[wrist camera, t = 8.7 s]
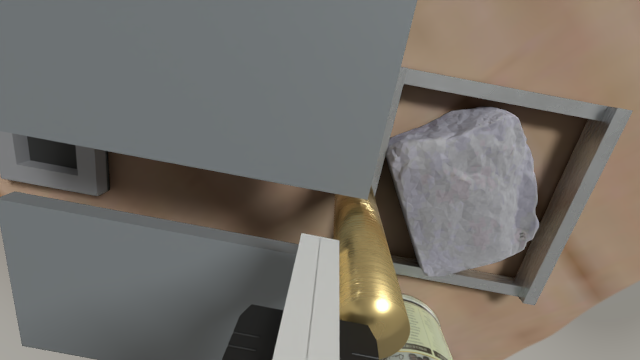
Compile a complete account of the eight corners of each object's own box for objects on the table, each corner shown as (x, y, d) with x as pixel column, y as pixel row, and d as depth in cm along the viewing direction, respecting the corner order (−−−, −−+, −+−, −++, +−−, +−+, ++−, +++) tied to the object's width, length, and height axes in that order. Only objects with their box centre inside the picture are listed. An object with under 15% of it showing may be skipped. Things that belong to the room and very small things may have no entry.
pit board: (-5, 21, 24) (-27, 18, 22) (102, 41, 24) (87, 39, 22) (18, 172, 28) (1, 178, 26) (109, 189, 28) (97, 196, 26)
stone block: (485, 92, 25) (368, 141, 25) (534, 93, 20) (390, 153, 20) (511, 220, 29) (409, 264, 28) (557, 246, 24) (436, 298, 24)
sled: (357, 59, 23) (399, 39, 7) (608, 107, 23) (1203, 192, 7) (318, 251, 28) (292, 483, 12) (521, 289, 28) (751, 567, 12)
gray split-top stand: (127, -40, 22) (-66, -139, 11) (385, 9, 22) (428, -45, 11) (133, 248, 29) (22, 345, 19) (325, 283, 30) (317, 400, 19)
